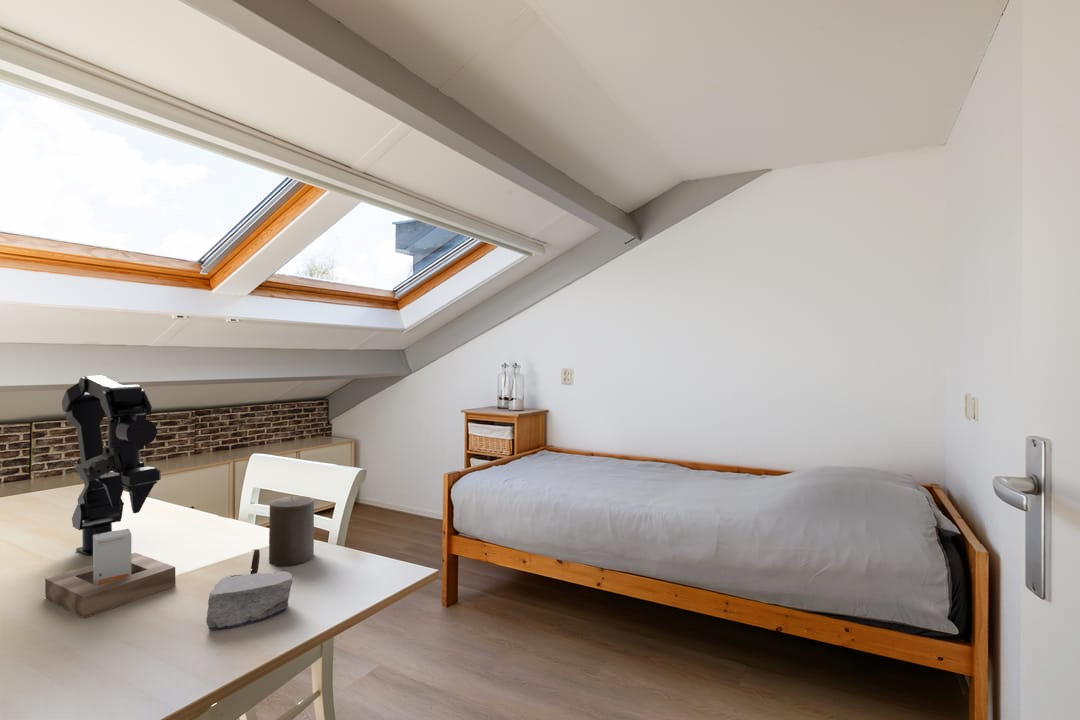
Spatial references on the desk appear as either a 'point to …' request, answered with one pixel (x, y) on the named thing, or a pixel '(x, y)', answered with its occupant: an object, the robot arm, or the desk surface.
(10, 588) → the desk surface
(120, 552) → the skincare box
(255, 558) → the dark brown curved piece
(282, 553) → the pillar candle
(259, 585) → the decorative stone
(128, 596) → the holder block
